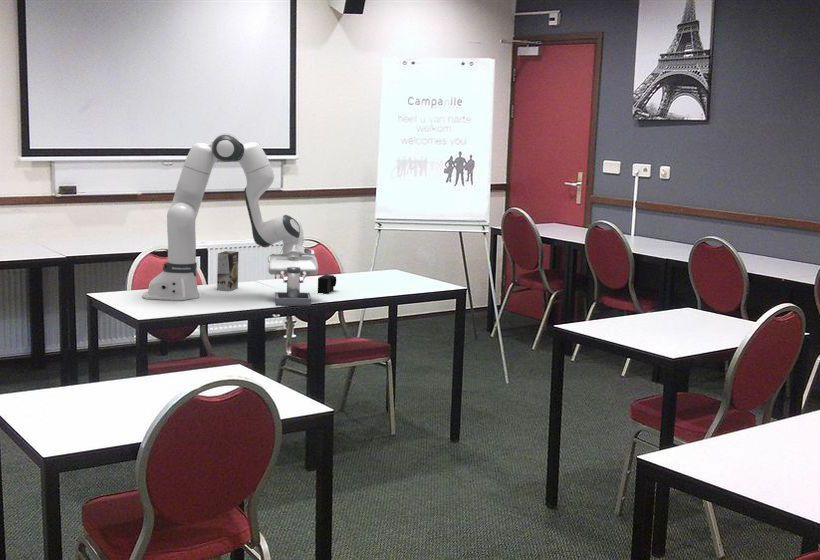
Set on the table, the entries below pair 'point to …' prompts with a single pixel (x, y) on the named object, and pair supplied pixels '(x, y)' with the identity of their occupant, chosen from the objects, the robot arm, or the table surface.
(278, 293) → the tray
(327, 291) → the digital camera
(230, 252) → the coffee box
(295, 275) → the shaker
